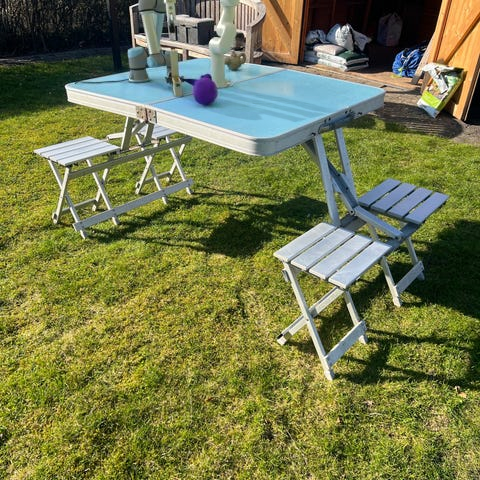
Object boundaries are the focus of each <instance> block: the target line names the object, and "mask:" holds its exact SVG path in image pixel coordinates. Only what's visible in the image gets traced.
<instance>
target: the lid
mask: <svg viewBox="0 0 480 480" xmlns="http://www.w3.org/2000/svg"><path fill="white" fill-rule="evenodd" d="M169 51H170V55H171V70H172V77H175V76H180V69H179V54H178V53H179V52H178V49H176V46H170V50H169Z"/></svg>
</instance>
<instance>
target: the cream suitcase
mask: <svg viewBox="0 0 480 480" xmlns="http://www.w3.org/2000/svg"><path fill="white" fill-rule="evenodd" d="M172 80H173V85H172V91H173V93H174V97H175V98H177V97H178V98H179V97H183V88H182V87H183V86H182V84H183V83H181V80H180V78H179V77H172Z"/></svg>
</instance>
